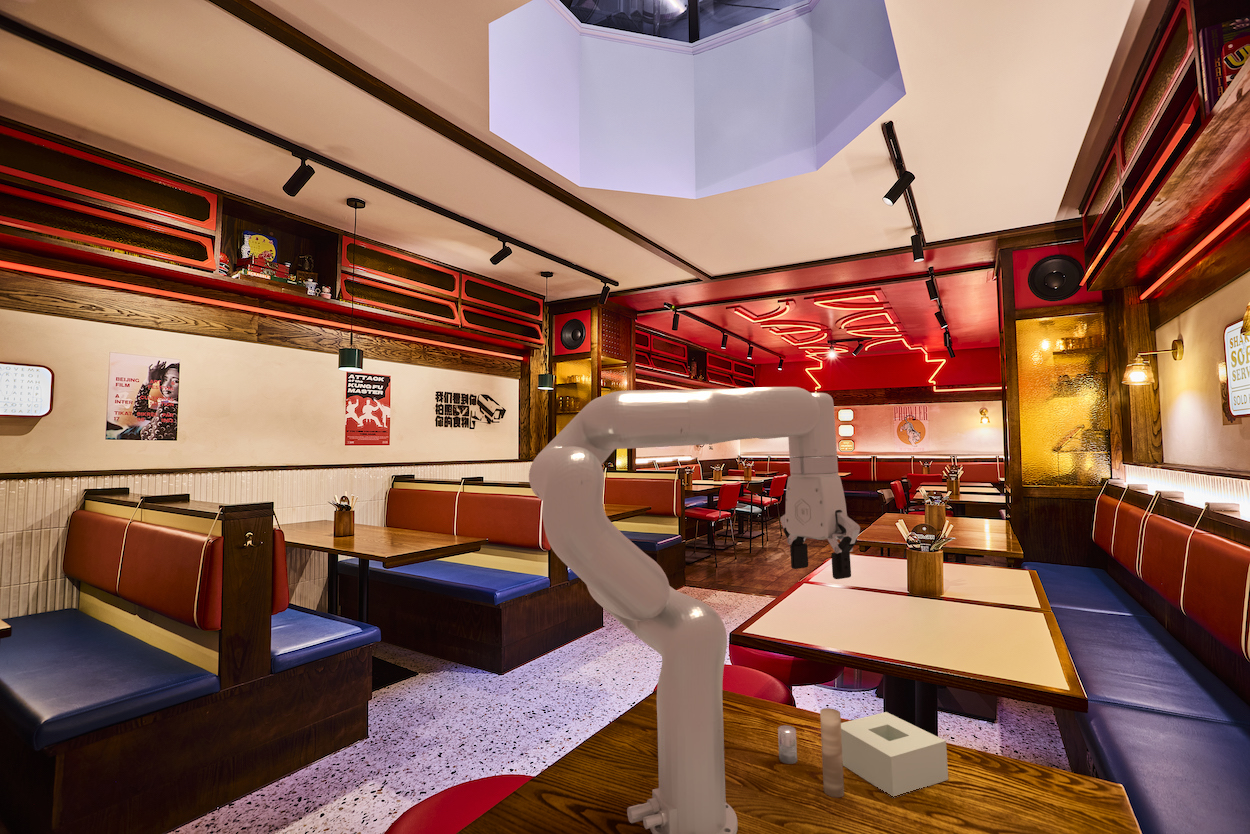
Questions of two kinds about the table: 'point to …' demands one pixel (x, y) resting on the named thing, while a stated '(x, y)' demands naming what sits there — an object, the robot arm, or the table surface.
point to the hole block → (893, 753)
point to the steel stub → (787, 744)
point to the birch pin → (832, 752)
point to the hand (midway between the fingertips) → (820, 572)
